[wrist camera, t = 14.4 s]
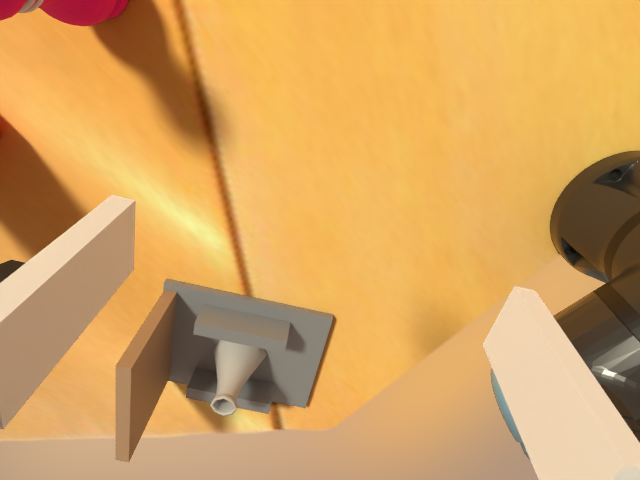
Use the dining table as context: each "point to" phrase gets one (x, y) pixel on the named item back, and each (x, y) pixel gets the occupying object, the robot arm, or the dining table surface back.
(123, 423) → the shaker holder
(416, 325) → the dining table surface
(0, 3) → the pepper mill
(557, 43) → the dining table surface
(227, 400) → the flask
